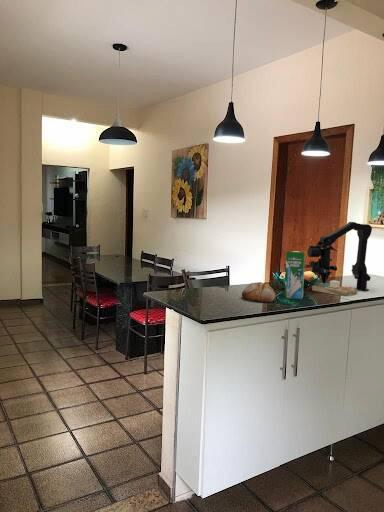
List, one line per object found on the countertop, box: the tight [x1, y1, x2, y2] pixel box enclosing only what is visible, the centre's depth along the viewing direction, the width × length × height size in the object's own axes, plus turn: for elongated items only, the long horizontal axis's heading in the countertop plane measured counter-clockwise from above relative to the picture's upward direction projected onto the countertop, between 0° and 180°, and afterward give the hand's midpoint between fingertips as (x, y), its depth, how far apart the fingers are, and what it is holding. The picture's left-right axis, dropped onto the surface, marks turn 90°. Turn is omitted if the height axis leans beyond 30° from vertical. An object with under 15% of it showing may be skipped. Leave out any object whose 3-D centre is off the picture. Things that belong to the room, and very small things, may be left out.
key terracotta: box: [340, 285, 352, 291], centre depth 233 cm, size 4×4×4 cm
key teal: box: [318, 282, 330, 287], centre depth 243 cm, size 4×4×4 cm
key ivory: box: [329, 279, 341, 288], centre depth 238 cm, size 4×4×4 cm
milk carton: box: [283, 250, 306, 300], centre depth 219 cm, size 9×9×25 cm
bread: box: [241, 281, 276, 303], centre depth 213 cm, size 16×20×10 cm
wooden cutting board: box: [311, 284, 359, 297], centre depth 238 cm, size 12×22×2 cm, turn 41°
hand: (323, 283), depth 243 cm, fingers closed, pressing on key teal
